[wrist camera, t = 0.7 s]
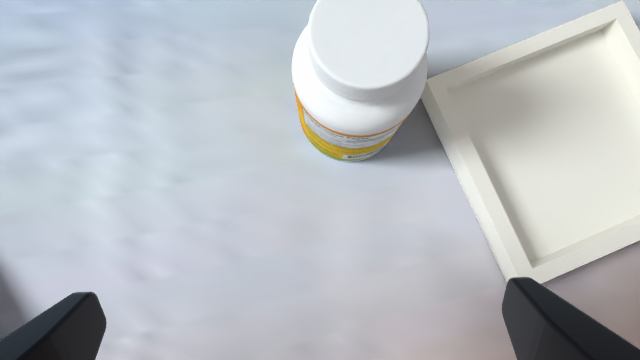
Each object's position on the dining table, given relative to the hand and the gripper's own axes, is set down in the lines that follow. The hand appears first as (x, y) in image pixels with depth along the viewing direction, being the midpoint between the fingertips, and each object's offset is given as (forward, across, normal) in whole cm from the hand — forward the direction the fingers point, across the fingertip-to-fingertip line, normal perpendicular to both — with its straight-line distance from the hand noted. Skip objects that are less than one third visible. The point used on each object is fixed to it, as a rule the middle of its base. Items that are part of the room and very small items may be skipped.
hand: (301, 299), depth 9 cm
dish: (+14, -13, +3) cm, 20 cm away
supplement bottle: (+15, -2, +1) cm, 15 cm away
